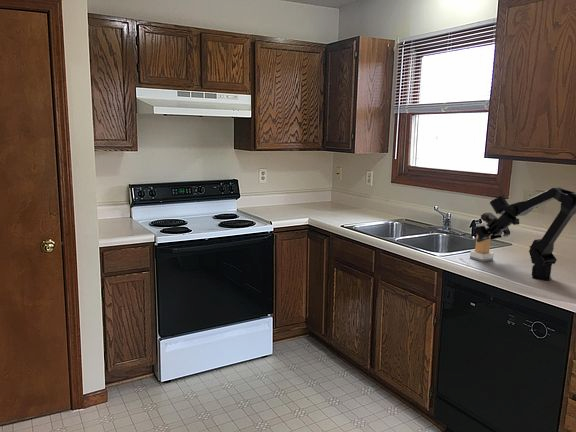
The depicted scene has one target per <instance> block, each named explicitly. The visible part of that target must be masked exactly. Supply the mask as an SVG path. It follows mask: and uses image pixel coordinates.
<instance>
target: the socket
mask: <svg viewBox="0 0 576 432" xmlns="http://www.w3.org/2000/svg"><path fill="white" fill-rule="evenodd" d="M469 259H473V260H476V261H478V262H483V263H484V262H490V261H493V260H494V252H492V251H489V253H487V254H481V253H478V252H475V250H473V249H472V250H470V253H469Z"/></svg>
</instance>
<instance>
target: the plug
mask: <svg viewBox="0 0 576 432" xmlns="http://www.w3.org/2000/svg"><path fill="white" fill-rule="evenodd" d="M478 237H479V236H478V235H477V234H476V239H475V240H476V241H475V248H474V249H475V252H478V253H481V254H487V253H489V252H490V249H491V241H492V240H491V236H489V239H488V240H484V241H481V242H477V239H478Z"/></svg>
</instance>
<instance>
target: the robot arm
mask: <svg viewBox="0 0 576 432" xmlns="http://www.w3.org/2000/svg"><path fill="white" fill-rule="evenodd" d="M554 199H555V200H556V201H557V202H559V203H560V210H559V212H558V213H557V215H556V217H555V218H554V219H553V221H552V223H551V224H550V226H549V227H548V228H547V231H546V232H545V233H544V234H543V237H542V238H539V239H534V240H533V241H532V243H531V245H530V246H529V250H528V254H529V255H530V256H529V257H530V260H531V264H533V265H532V268H531V278H532V279H535V280H536V279H537V280H542V281H543V280H544V281H549V282H550V280H551V278H552V276H551V274H552V266H553V264H554V265H555V264H556V262H557V260H558V259H557V258H556V256H555V255H554V254H553V251H554V247H555V242H556V241H557V239H558V238H559V236H560V235H561V234H562V232H563V231H564V229H565V228H566V226H567V224H568V223H569V222H570V220H571V219H572V218H573V216H574V215H576V192H575V191H573V190H568V189H564V188H561V186H560V187H559V186H558V187H550V188H549V189H548V190H546V191H542V192H541V193H539V194H537V195H535V196H533V197H531V198H528V199H526V200H522V201H517V202H514V203H511V204H509V203H508V201H507V200H506V198H505V196H504V195H499V196H498V197H496V198H493V199H491V201H490V202H489V205H490V206H491V208H492V210H493V211H494V212H495V214H496V215H498V214H499V217H497V216H496V215H495V214H493V213H492V212H484V213H482V214H481V215H480V219H481V221H483V222H485V223H486V224H485V225H486V226H487V227H486V226H485V225H477V226H475V227H474V231H475V233H476V236H477V235H478V236H479V237H478V239H477V242H481V241H484V240H488V239H489V236H491V240H490V241H493V240H497V239H501V238H502V237H503V238H508V237H510V235H511V230H510V229H509V227H510V226H511V225H513V226H517V225H520V218H518V217H524V216H526V215H528V214H530V213H531V212H532V211H533V210H534V209H535V208H537V207H540V206H541V205H543V204H546V203H548V202H550V201H552V200H554ZM502 234H503V235H502Z"/></svg>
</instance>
